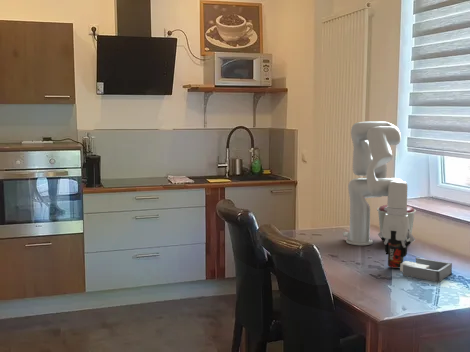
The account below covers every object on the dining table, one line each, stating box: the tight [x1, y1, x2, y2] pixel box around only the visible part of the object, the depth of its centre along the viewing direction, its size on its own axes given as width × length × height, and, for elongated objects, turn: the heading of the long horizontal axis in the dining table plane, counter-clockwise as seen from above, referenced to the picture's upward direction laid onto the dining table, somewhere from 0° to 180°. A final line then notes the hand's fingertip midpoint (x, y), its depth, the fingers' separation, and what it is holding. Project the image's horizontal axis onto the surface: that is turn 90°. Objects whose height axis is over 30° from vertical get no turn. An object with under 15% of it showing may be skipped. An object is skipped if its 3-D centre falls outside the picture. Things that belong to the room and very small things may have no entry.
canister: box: [376, 204, 417, 242], centre depth 260 cm, size 18×18×21 cm
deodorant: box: [387, 231, 404, 269], centre depth 219 cm, size 6×6×15 cm
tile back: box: [399, 260, 417, 272], centre depth 217 cm, size 5×5×3 cm
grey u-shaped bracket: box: [402, 257, 453, 283], centre depth 212 cm, size 14×14×4 cm
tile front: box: [414, 263, 429, 269], centre depth 214 cm, size 5×5×3 cm
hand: (395, 254), depth 220 cm, fingers closed on deodorant, 5 cm apart
